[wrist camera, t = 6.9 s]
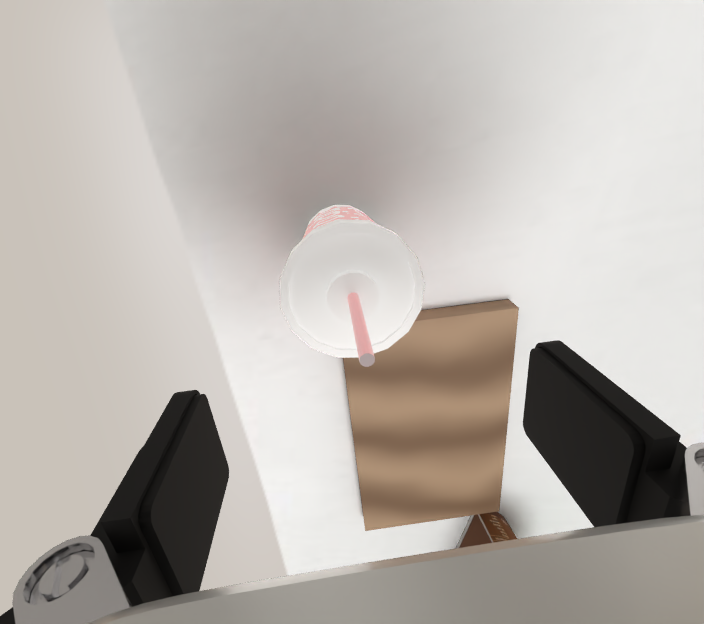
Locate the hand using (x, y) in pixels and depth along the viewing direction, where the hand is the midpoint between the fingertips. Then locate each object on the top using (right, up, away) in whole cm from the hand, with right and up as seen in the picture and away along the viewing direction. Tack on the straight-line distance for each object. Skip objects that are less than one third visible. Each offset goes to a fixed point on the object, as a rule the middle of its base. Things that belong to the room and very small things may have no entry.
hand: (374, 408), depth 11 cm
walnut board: (+5, -6, +20) cm, 21 cm away
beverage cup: (-1, +7, +13) cm, 15 cm away
